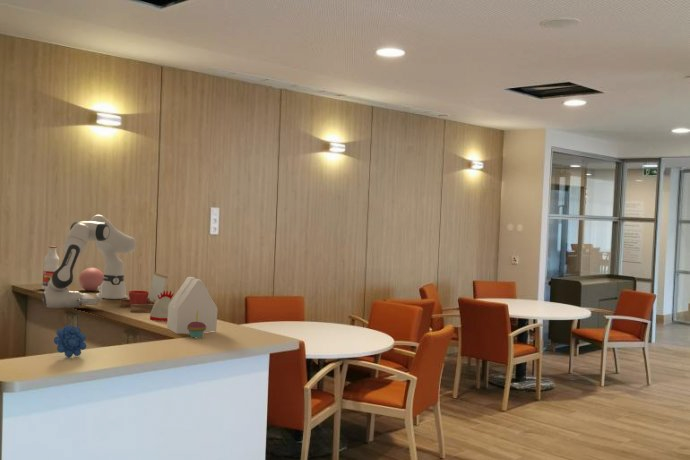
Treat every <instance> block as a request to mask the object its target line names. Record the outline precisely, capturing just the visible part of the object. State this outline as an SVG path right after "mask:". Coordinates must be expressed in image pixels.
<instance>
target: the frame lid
mask: <svg viewBox="0 0 690 460" xmlns="http://www.w3.org/2000/svg"><path fill="white" fill-rule="evenodd" d="M167 280H168V276H167V275H164V274H160V273H158V272H154V273H153V278H152V280H151V285H150V289H149V294H148V298H149V299H150V300H152V301H154V302H156V301H157V300H158V299H159V298H158V295H159V297H161V293H162V295H163V292H164V291H165V286H166V282H167Z"/></svg>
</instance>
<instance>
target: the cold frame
mask: <svg viewBox="0 0 690 460" xmlns="http://www.w3.org/2000/svg"><path fill="white" fill-rule="evenodd" d="M155 303H156V301H154V300H152V299H149V298H148V299H147V303H146V304H131V307H130V299H129V298H128V299H127V298H121V299H120V303H119V304H120V305H119V306H120V307H123V306H125V307H130V313H151V311H152V308H153V306H154V304H155Z"/></svg>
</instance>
